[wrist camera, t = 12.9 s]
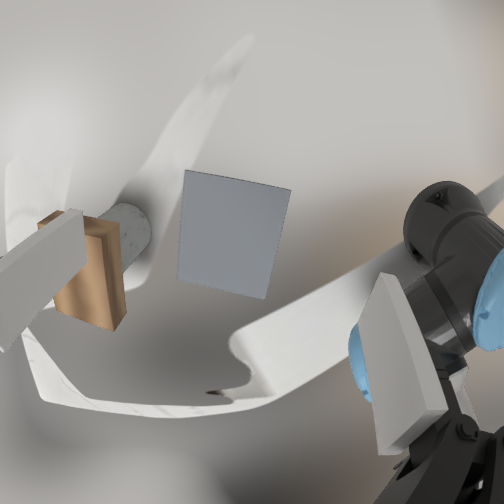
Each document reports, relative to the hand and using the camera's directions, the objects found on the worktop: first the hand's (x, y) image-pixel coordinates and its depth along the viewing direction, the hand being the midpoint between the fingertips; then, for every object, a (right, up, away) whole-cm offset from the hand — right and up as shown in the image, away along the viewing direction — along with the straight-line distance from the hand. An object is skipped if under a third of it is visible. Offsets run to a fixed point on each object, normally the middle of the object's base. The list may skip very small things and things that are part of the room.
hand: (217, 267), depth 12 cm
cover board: (-22, -1, +27) cm, 35 cm away
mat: (-2, +3, +36) cm, 36 cm away
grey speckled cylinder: (-20, +5, +38) cm, 43 cm away
